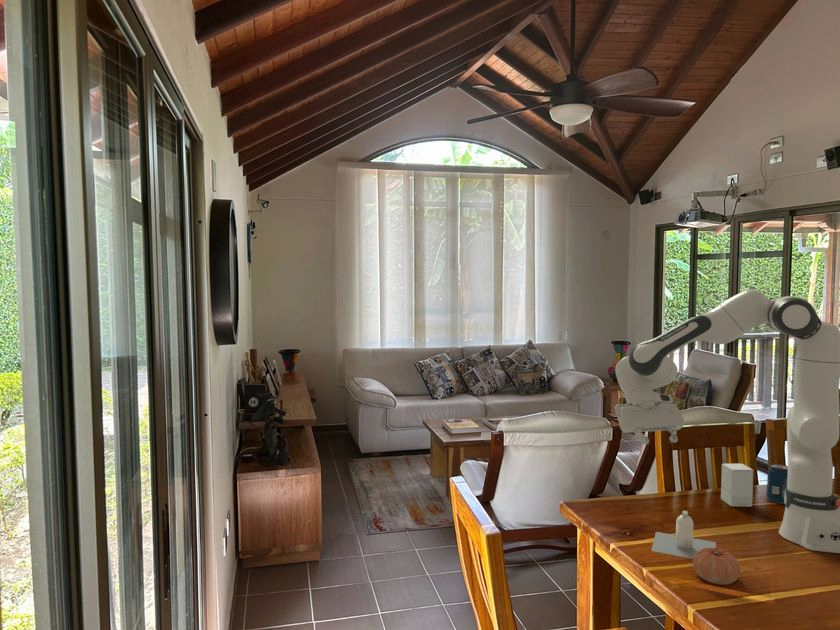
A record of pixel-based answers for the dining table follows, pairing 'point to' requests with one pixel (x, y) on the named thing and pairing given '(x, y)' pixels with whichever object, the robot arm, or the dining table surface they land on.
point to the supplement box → (737, 485)
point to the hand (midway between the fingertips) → (660, 442)
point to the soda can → (777, 482)
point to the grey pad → (668, 546)
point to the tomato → (716, 566)
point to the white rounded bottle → (684, 532)
